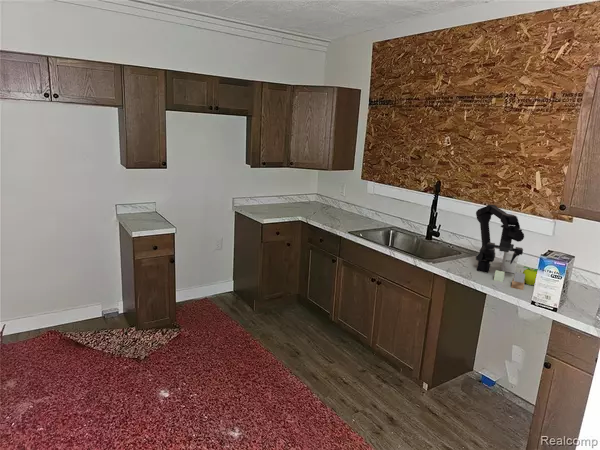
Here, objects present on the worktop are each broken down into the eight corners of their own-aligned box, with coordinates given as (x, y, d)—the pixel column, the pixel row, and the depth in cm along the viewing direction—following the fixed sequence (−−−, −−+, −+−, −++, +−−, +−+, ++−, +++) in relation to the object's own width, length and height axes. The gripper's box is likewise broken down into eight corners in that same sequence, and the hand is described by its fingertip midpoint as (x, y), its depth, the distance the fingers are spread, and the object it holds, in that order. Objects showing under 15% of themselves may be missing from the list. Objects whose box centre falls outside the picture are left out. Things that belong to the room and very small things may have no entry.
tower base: (511, 287, 229) (512, 281, 228) (511, 284, 234) (512, 278, 234) (523, 290, 227) (524, 283, 226) (523, 287, 232) (524, 280, 231)
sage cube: (493, 280, 239) (495, 272, 238) (494, 278, 244) (495, 270, 242) (503, 282, 237) (504, 274, 236) (503, 279, 241) (504, 271, 240)
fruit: (519, 280, 242) (523, 264, 240) (537, 283, 239) (541, 267, 236) (520, 285, 234) (523, 268, 232) (539, 288, 230) (542, 271, 228)
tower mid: (513, 281, 229) (514, 274, 228) (513, 278, 233) (515, 271, 232) (523, 283, 227) (524, 276, 226) (523, 280, 231) (524, 273, 230)
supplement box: (502, 271, 256) (505, 252, 253) (500, 268, 263) (504, 249, 260) (515, 273, 254) (518, 254, 251) (513, 270, 260) (517, 251, 257)
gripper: (487, 236, 231) (483, 262, 235) (524, 242, 223) (519, 269, 227) (489, 232, 241) (485, 257, 245) (525, 238, 232) (519, 264, 236)
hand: (501, 262), depth 238 cm, fingers open, 9 cm apart
